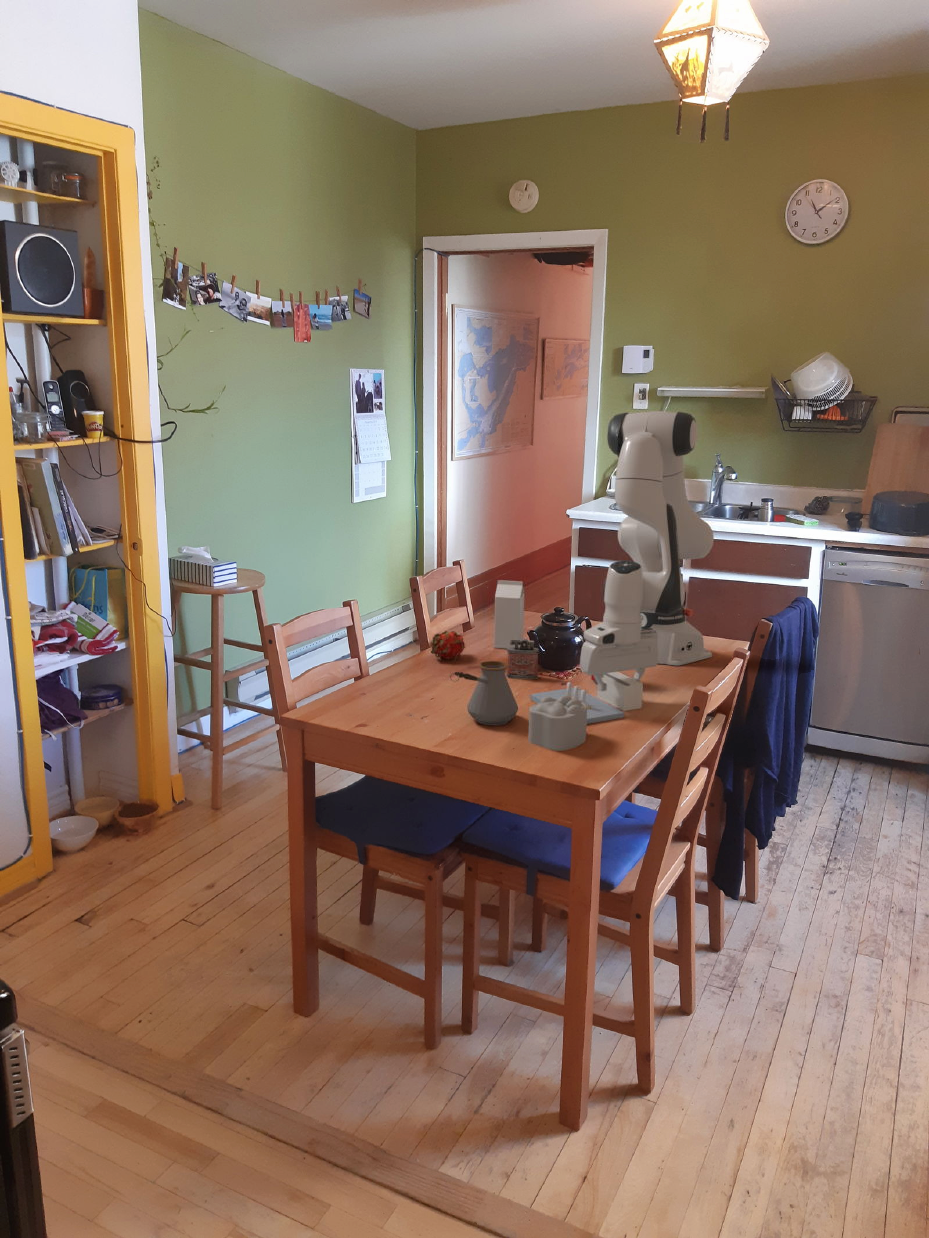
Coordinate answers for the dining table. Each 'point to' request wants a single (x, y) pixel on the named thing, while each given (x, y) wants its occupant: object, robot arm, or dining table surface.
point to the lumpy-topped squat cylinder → (558, 723)
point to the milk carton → (508, 613)
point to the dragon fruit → (447, 645)
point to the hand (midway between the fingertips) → (618, 688)
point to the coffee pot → (491, 695)
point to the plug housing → (621, 691)
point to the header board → (595, 706)
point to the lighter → (522, 660)
